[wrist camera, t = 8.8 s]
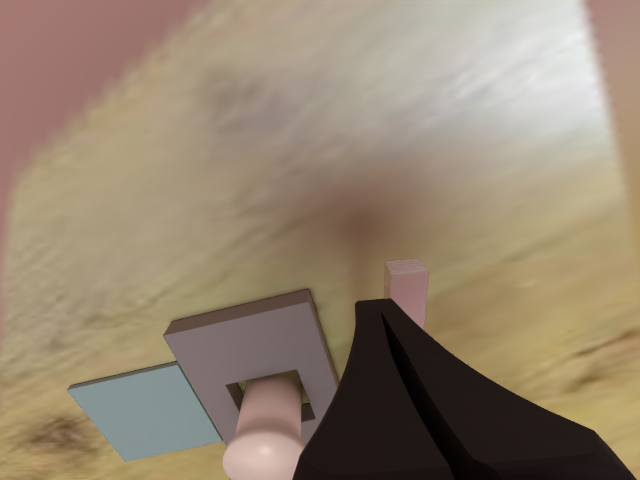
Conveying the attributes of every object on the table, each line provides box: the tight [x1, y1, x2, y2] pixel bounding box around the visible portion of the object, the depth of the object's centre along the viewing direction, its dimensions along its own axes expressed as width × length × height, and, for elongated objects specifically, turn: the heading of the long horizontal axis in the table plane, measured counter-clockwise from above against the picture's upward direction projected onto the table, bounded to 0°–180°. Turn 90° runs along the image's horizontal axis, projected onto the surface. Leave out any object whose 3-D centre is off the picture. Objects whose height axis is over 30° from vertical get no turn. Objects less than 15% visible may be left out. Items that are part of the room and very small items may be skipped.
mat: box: [67, 361, 223, 462], centre depth 26 cm, size 9×9×1 cm
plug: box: [223, 370, 305, 480], centre depth 23 cm, size 5×5×6 cm
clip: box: [384, 259, 429, 330], centre depth 16 cm, size 14×2×1 cm, turn 3°
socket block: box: [163, 289, 339, 446], centre depth 25 cm, size 16×10×2 cm, turn 14°
